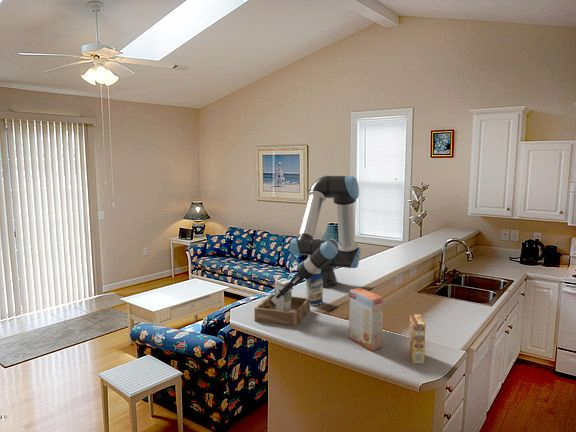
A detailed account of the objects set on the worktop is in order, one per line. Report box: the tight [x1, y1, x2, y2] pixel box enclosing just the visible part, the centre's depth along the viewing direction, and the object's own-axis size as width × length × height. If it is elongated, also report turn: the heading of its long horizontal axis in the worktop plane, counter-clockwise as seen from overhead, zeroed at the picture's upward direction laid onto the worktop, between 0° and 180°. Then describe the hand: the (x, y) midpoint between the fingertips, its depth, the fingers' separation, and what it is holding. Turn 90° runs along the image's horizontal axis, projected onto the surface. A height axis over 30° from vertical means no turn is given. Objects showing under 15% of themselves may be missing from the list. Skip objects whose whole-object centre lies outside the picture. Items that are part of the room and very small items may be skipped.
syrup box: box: [274, 278, 293, 312], centre depth 196 cm, size 6×6×14 cm
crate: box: [254, 293, 311, 328], centre depth 197 cm, size 20×20×6 cm
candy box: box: [408, 314, 426, 365], centre depth 156 cm, size 9×4×15 cm, turn 174°
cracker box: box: [348, 287, 384, 352], centre depth 168 cm, size 14×6×21 cm, turn 30°
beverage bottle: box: [305, 268, 324, 306], centre depth 212 cm, size 8×8×20 cm
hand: (276, 298), depth 198 cm, fingers closed on syrup box, 7 cm apart
